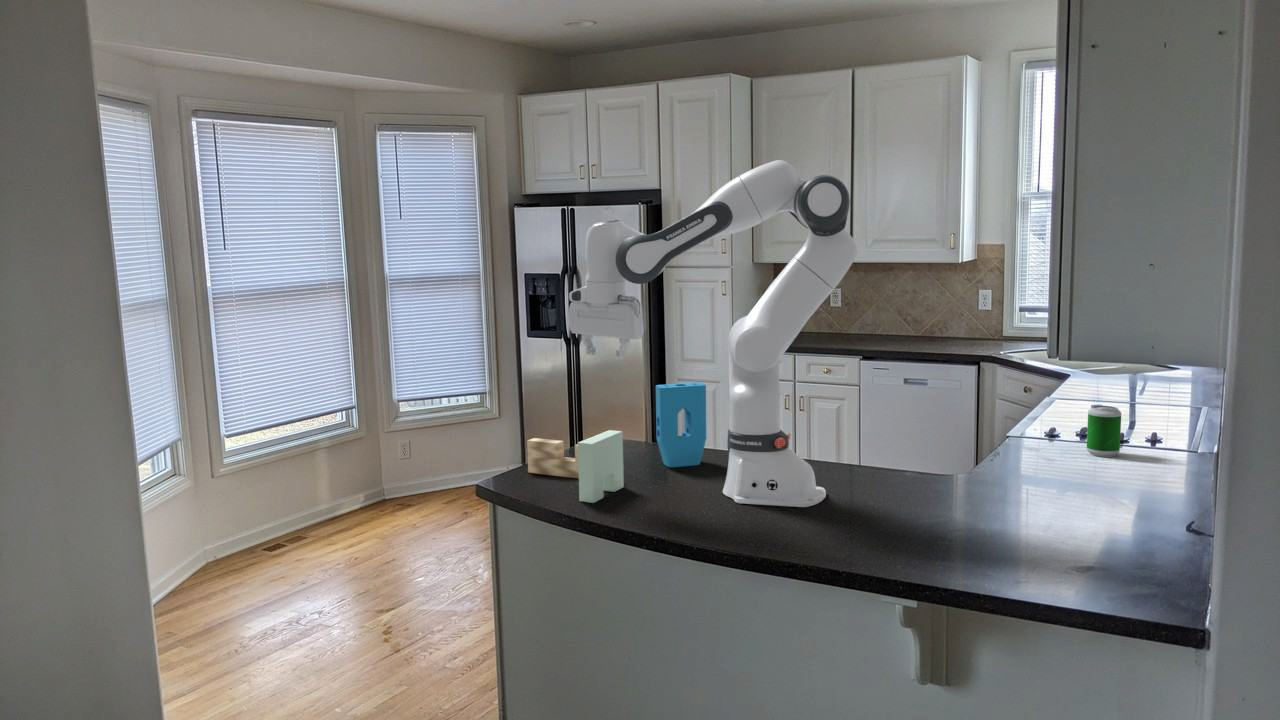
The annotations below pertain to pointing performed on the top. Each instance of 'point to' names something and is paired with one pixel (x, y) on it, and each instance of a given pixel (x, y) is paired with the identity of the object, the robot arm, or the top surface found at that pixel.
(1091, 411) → the soda can
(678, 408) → the block
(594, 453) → the sage plate
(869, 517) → the top surface
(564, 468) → the oak board
